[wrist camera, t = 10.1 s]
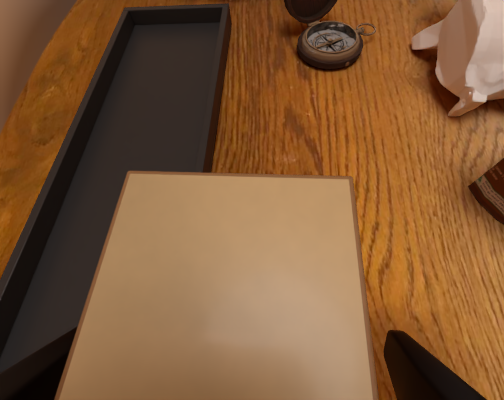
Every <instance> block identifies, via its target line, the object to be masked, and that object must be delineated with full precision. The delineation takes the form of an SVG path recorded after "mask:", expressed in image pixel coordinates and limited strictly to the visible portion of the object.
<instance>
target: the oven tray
mask: <svg viewBox="0 0 504 400" xmlns="http://www.w3.org/2000/svg"><path fill="white" fill-rule="evenodd" d="M230 31H231V16H230V9H229V4H203V5H178V6H153V7H128V8H124V10H123V12H122V14H121V17H120V19H119V21H118V23H117V25H116V28H115V30H114V32H113V34H112V36H111V38H110V41H109V43H108V45H107V47H106V49H105V52H104V54H103V56H102V58H101V60H100V63H99V65H98V67H97V69H96V71H95V73H94V76H93V78H92V80H91V82H90V84H89V87H88V89H87V91H86V93H85V95H84V98H83V100H82V102H81V104H80V106H79V108H78V111H77V113H76V115H75V117H74V119H73V122H72V124H71V126H70V128H69V130H68V133H67V135H66V137H65V139H64V141H63V143H62V146H61V148H60V150H59V152H58V154H57V157H56V159H55V161H54V163H53V165H52V168H51V170H50V172H49V174H48V176H47V178H46V181H45V183H44V185H43V187H42V189H41V192H40V194H39V196H38V198H37V200H36V203H35V205H34V207H33V209H32V211H31V213H30V216H29V218H28V220H27V222H26V224H25V227H24V229H23V231H22V233H21V235H20V237H19V240H18V242H17V244H16V246H15V248H14V251H13V253H12V255H11V257H10V259H9V262H8V264H7V266H6V268H5V270H4V272H3V275H2V277H1V279H0V373H1V372H3V371H4V370H6V369H8V368H9V367H11V366H13V365H14V364H16V363H17V362H19V361H21V360H22V359H24V358H26V357H27V356H29V355H31V354H32V353H34V352H36V351H37V350H39V349H41V348H42V347H44V346H46V345H47V344H49V343H51V342H52V341H54V340H56V339H57V338H59V337H60V336H62V335H64V334H65V333H67V332H69V331H70V330H72V329H74V328H75V327H77V326H78V324H79V321H80V318H81V315H82V312H83V309H84V305H85V302H86V299H87V296H88V293H89V290H90V287H91V284H92V281H93V278H94V274H95V271H96V268H97V265H98V262H99V259H100V256H101V253H102V250H103V246H104V243H105V240H106V237H107V234H108V231H109V228H110V225H111V222H112V218H113V215H114V212H115V209H116V206H117V203H118V200H119V197H120V194H121V190H122V187H123V184H124V181H125V178H126V175H127V172H128V171H160V172H200V173H211V168H212V161H213V153H214V146H215V139H216V132H217V125H218V118H219V110H220V103H221V96H222V89H223V82H224V74H225V67H226V60H227V53H228V46H229V38H230Z"/></svg>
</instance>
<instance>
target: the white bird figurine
mask: <svg viewBox="0 0 504 400" xmlns="http://www.w3.org/2000/svg"><path fill="white" fill-rule="evenodd" d="M420 49H438V52H437V58H438V59H437V62H436V64H437V66H436V69H435V72H436V73H435V74H436V75H437V78H438V79H439V82H440V83H441V84H442V85H443V86H444V87H446V89H448V90H450V92H452V93H453V94H455V95H456V96H458V97H460V101H459V102H458V103H457V104H456V105H455V106H454V107H453V108H452V109H451V110H450V111H449V113H448V116H461V115H462V114H464V113H466V112H468V111H471V110H473V109H475V108H476V107H478V106H479V105H481V104H483V103H485V102H486V100H495V99H504V0H458V1H457V2H456V4H455V5H454V7H453V8H452V9H451V10H450V12H449V14H448V15H447V17H446V18H444V19H443V20H441V21H440V22H438V23H436V24H434V25H432V26H429V27H427V28H426V29H424V30H422V31H421V32H419V33H417V34H416V35H415V36H414V37H413V38H412V50H420Z"/></svg>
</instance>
